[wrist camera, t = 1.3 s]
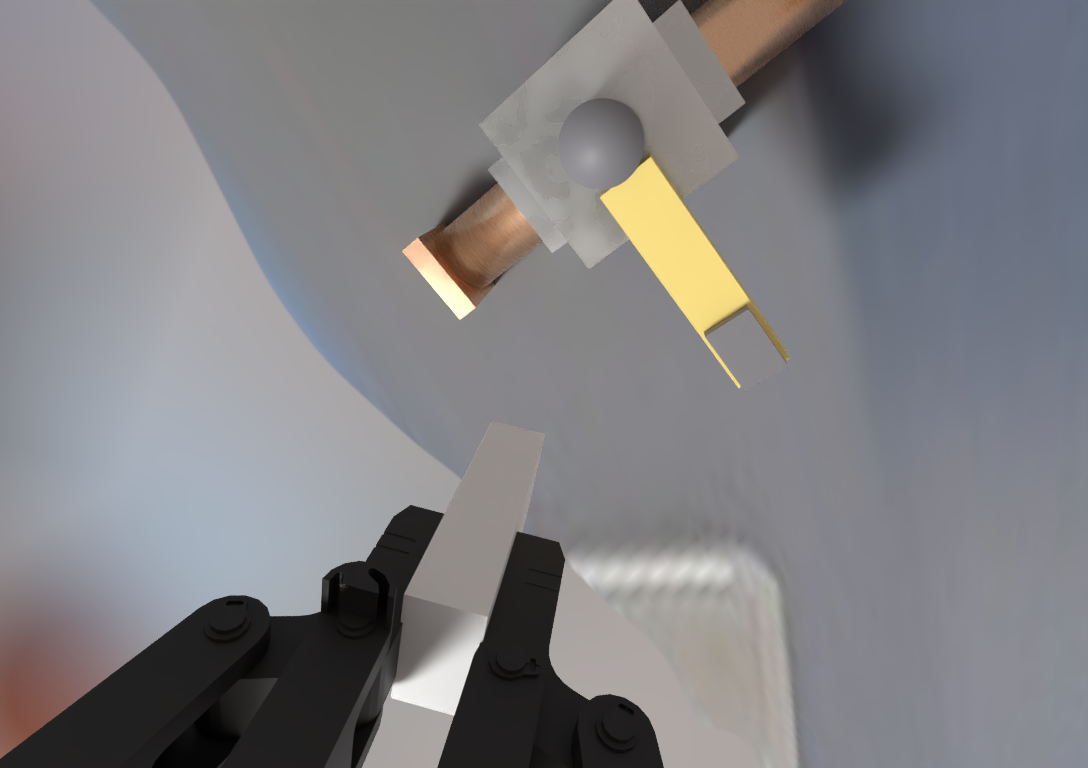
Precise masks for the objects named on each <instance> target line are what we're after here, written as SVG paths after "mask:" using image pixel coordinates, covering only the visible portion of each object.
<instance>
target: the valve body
mask: <svg viewBox="0 0 1088 768" xmlns="http://www.w3.org/2000/svg"><path fill="white" fill-rule="evenodd" d="M845 1H846V0H707V1H706V2H705V3H704V4H703V5H702V6H701V7H699V8H698V9H697V10H696V11H695V12H694V13H692V14H691V15H690V14H689V12H688V11H687V9H686V8H685V6H684V5H683V3H682V1H681V0H678V1H677V2H676V3H675V4H674V5H672V6H671V7H670V8H669V9H668V10H667V11H666V12H665V13H663V14H662V15H661V16H660V17H659V18H658V19H657V20H656V21H654V22H653V23H652V22H651V20H650V18H649V17H648V15H647V14H646V12H645V11H644V9H643V8H642V6H641V5H640V3H639V2H638V0H613V1H612V2H610V3H609V4H608V5H607V6H606V7H605V8H604V9H603V10H602V11H601V12H600V13H599V14H598V15H596V16H595V17H594V18H593V19H592V20H591V21H590V22H589V23H588V24H587V25H586V26H585V27H584V28H583V29H581V30H580V31H579V32H578V33H577V34H576V35H575V36H574V37H573V38H572V39H571V40H570V41H569V42H567V43H566V44H565V45H564V46H563V47H562V48H561V49H560V50H559V51H558V52H557V53H556V54H555V55H553V56H552V57H551V58H550V59H549V60H548V61H547V62H546V63H545V64H544V65H543V66H542V67H541V68H540V69H538V70H537V71H536V72H535V73H534V74H533V75H532V76H531V77H530V78H529V79H528V80H527V81H526V82H524V83H523V84H522V85H521V86H520V87H519V88H518V89H517V90H516V91H515V92H514V93H513V94H512V95H511V96H509V97H508V98H507V99H506V100H505V101H504V102H503V103H502V104H501V105H500V106H499V107H498V108H497V109H495V110H494V111H493V112H492V113H491V114H490V115H489V116H488V117H487V118H486V119H485V120H484V121H483V122H481V123H480V124H479V126H480V127H481V128H482V130H483V131H484V132H485V134H486V135H487V136H488V137H489V139H490V140H491V141H492V143H493V144H494V145H495V147H496V148H497V149H498V151H499V152H500V153H501V155H502V157H501V158H500V159H499V160H498V161H497V162H495V163H494V164H493V165H492V166H491V167H490V168H489V169H488V171H489V172H490V173H491V174H492V176H493V177H494V178H495V180H496V181H497V182H498V183H497V184H496V185H495V186H493V187H492V188H491V189H490V190H489V191H488V192H486V193H485V194H484V195H483V196H482V197H481V198H480V199H478V200H477V201H476V202H475V203H474V204H473V205H472V206H470V207H469V208H468V209H467V210H466V211H465V212H463V213H462V214H461V215H460V216H459V217H458V218H457V219H455V220H454V221H453V222H452V223H451V224H450V225H449V226H447V225H446V224H445V223H443V224H441V225H439V226H438V227H436V228H434V229H432V230H430V231H429V232H427V233H425V234H423V235H422V236H420V237H418V238H417V239H416V240H414V241H413V242H412V243H411V244H410V245H409V246H408V247H407V248H405V249H404V250H403V251H402V252H403V253H404V254H405V255H406V256H407V257H408V259H409V260H410V261H411V262H412V263H413V265H414V266H415V267H416V268H417V269H418V270H419V272H420V273H421V274H422V275H423V276H424V278H425V279H426V280H427V281H428V282H429V284H430V285H431V286H432V287H433V288H434V289H435V291H436V292H437V293H438V294H439V295H440V297H441V298H442V299H443V300H444V301H445V302H446V304H447V305H448V306H449V307H450V308H451V310H452V311H453V312H454V313H455V314H456V316H457V317H458V318H459V319H461V318H463V317H464V316H465V315H467V314H468V313H469V312H470V311H472V310H473V309H474V308H476V306H477V305H478V304H479V303H480V302H481V301H482V299H483V298H484V297H485V296H486V295H487V294H488V292H489V291H490V290H491V289H492V288H493V287H494V286H495V284H494V283H493V282H492V281H493V280H494V279H496V278H497V277H498V276H499V275H501V274H502V273H503V272H504V271H506V270H507V269H508V268H510V267H511V266H512V265H513V264H515V263H516V262H517V261H518V260H520V259H521V258H522V257H523V256H525V255H526V254H527V253H528V252H530V251H531V250H532V249H534V248H535V247H536V246H537V245H539V244H540V243H541V242H542V241H543V242H544V243H545V244H546V246H547V247H548V248H549V250H550V251H551V252H552V253H553V252H555V251H556V250H557V249H558V248H560V247H561V246H562V245H564V244H565V243H566V242H567V241H568V243H569V244H570V245H571V247H572V248H573V249H574V251H575V252H576V253H577V255H578V256H579V257H580V258H581V260H582V261H583V262H584V264H585V265H586V266H587V268H588V269H590V268H591V267H592V266H594V265H595V264H596V263H598V262H599V261H600V260H602V259H603V258H604V257H606V256H607V255H609V254H610V253H611V252H613V251H614V250H615V249H617V248H618V247H619V246H621V245H622V244H623V243H625V242H626V241H627V240H629V237H628V236H627V235H626V233H625V232H624V230H623V229H622V228H621V226H620V225H619V224H618V222H617V221H616V219H615V218H614V217H613V215H612V214H611V213H610V211H609V210H608V208H607V207H606V206H605V204H604V203H603V202H602V200H601V199H600V198H599V197H600V196H601V194H602V192H603V190H594V189H589V188H587V187H584V186H582V185H580V184H578V183H577V182H575V181H574V180H573V179H572V178H571V177H570V176H569V175H568V173H567V172H566V170H565V169H564V167H563V165H562V163H561V160H560V156H559V149H558V142H559V135H560V131H561V128H562V126H563V123H564V122H565V120H566V118H567V117H568V115H569V114H570V113H571V112H572V111H573V110H574V109H575V108H576V107H578V106H579V105H580V104H582V103H584V102H586V101H589V100H592V99H597V98H608V99H613V100H616V101H619V102H622V103H624V104H626V105H627V106H629V107H630V108H631V109H632V110H633V111H634V112H635V113H636V114H637V116H638V117H639V119H640V121H641V123H642V126H643V130H644V149H643V154H642V158H641V160H642V159H643V158H644V157H646V156H647V155H648V154H649V153H651V155H652V156H653V158H654V159H655V160H656V162H657V163H658V165H659V166H660V168H661V169H662V171H663V172H664V174H665V175H666V176H667V178H668V179H669V181H670V182H671V184H672V185H673V187H674V188H675V189H676V191H677V192H678V194H679V195H680V197H681V198H682V199H684V198H685V197H687V196H688V195H689V194H691V193H692V192H693V191H695V190H696V189H697V188H699V187H700V186H701V185H703V184H704V183H705V182H707V181H708V180H709V179H711V178H712V177H713V176H715V175H716V174H717V173H719V172H720V171H721V170H723V169H724V168H726V167H727V166H728V165H730V164H731V163H732V162H734V161H735V160H736V159H738V158H739V155H738V154H737V152H736V151H735V149H734V147H733V146H732V144H731V143H730V141H729V140H728V138H727V137H726V135H725V134H724V132H723V131H722V129H721V127H720V126H719V123H721V122H722V121H723V120H724V119H726V118H727V117H728V116H730V115H731V114H732V113H733V112H735V111H736V110H737V109H739V108H740V107H741V106H742V105H744V104H745V101H744V99H743V98H742V96H741V95H740V93H739V91H738V90H737V87H738V86H739V85H740V84H742V83H743V82H744V81H746V80H747V79H748V78H749V77H751V76H752V75H753V74H754V73H756V72H757V71H758V70H759V69H761V68H762V67H763V66H764V65H766V64H767V63H768V62H769V61H771V60H772V59H773V58H775V57H776V56H777V55H778V54H780V53H781V52H782V51H783V50H785V49H786V48H787V47H788V46H790V45H791V44H792V43H793V42H795V41H796V40H797V39H799V38H800V37H801V36H802V35H804V34H805V33H806V32H807V31H809V30H810V29H811V28H812V27H814V26H815V25H816V24H817V23H819V22H820V21H821V20H822V19H824V18H825V17H826V16H828V15H829V14H830V13H831V12H833V11H834V10H835V9H836V8H838V7H839V6H840V5H841V4H843V3H844V2H845Z"/></svg>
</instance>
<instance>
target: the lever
mask: <svg viewBox="0 0 1088 768" xmlns="http://www.w3.org/2000/svg"><path fill="white" fill-rule="evenodd" d="M558 149H559V156H560V160H561V163H562V165H563V167H564V169H565V170H566V172H567V173H568V175H569V176H570V177H571V178H572V179H573V180H574V181H575V182H577V183H578V184H580V185H582V186H584V187H587V188H589V189H594V190H603V192H602V194H601V196H600V197H599V198H600V199H601V200H602V202H603V203H604V204H605V206H606V207H607V208H608V210H609V211H610V213H611V214H612V215H613V217H614V218H615V219H616V221H617V222H618V224H619V225H620V226H621V228H622V229H623V230H624V232H625V233H626V235H627V236H628V237H629V239H630V240H631V241H632V243H633V244H634V245H635V247H636V248H637V250H638V251H639V252H640V254H641V255H642V256H643V258H644V259H645V261H646V262H647V263H648V265H649V266H650V267H651V269H652V270H653V272H654V273H655V274H656V276H657V277H658V278H659V280H660V281H661V282H662V284H663V285H664V287H665V288H666V289H667V291H668V292H669V293H670V295H671V296H672V298H673V299H674V300H675V302H676V303H677V304H678V306H679V307H680V309H681V310H682V311H683V313H684V314H685V315H686V317H687V318H688V319H689V321H690V322H691V324H692V325H693V326H694V328H695V329H696V330H697V332H698V333H699V335H700V336H701V337H702V339H703V340H704V341H705V343H706V344H707V346H708V347H709V348H710V350H711V351H712V352H713V354H714V355H715V357H716V358H717V359H718V361H719V362H720V363H721V365H722V366H723V367H724V369H725V370H726V372H727V373H728V374H729V376H730V377H731V378H732V380H733V381H734V383H735V384H736V385H737V387H738V388H740V387H742V388H743V390H744V391H747V390H748V389H750V388H752V387H754V386H755V385H757V384H759V383H760V382H762V381H764V380H766V379H767V378H769V377H771V376H772V375H774V374H776V373H778V372H779V371H781V370H783V369H785V368H786V367H788V365H787V363H786V360H788V359H789V356H788V354H787V352H786V351H785V349H784V347H783V345H782V344H781V342H780V340H779V339H778V337H777V336H776V334H775V333H774V331H773V330H772V328H771V327H770V325H769V324H768V322H767V321H766V320H765V318H764V317H763V315H762V314H761V312H760V311H759V309H758V308H757V307H756V305H755V304H754V302H753V301H752V299H751V298H750V296H749V295H748V294H747V292H746V291H745V289H744V288H743V286H742V285H741V283H740V282H739V281H738V279H737V278H736V276H735V275H734V273H733V272H732V270H731V269H730V268H729V266H728V265H727V263H726V262H725V260H724V259H723V257H722V256H721V255H720V253H719V252H718V250H717V249H716V247H715V246H714V244H713V243H712V241H711V240H710V239H709V237H708V236H707V234H706V233H705V231H704V230H703V228H702V227H701V226H700V224H699V223H698V221H697V220H696V218H695V217H694V215H693V214H692V213H691V211H690V210H689V208H688V207H687V205H686V204H685V202H684V201H683V200H682V198H681V197H680V195H679V194H678V192H677V191H676V189H675V188H674V187H673V185H672V184H671V182H670V181H669V179H668V178H667V176H666V175H665V174H664V172H663V171H662V169H661V168H660V166H659V165H658V163H657V162H656V160H655V159H654V158H653V156H652V155H651V153H649V154H648V155H647V156H646V157H644V158H643V159H642V160H641V158H642V154H643V149H644V130H643V126H642V123H641V121H640V119H639V117H638V116H637V114H636V113H635V112H634V111H633V110H632V109H631V108H630V107H629V106H627V105H626V104H624V103H622V102H619V101H616V100H613V99H608V98H597V99H592V100H589V101H586V102H584V103H582V104H580V105H579V106H578V107H576V108H575V109H574V110H573V111H572V112H571V113H570V114H569V115H568V117H567V118H566V120H565V122H564V123H563V126H562V128H561V131H560V135H559V142H558Z"/></svg>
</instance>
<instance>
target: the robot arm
mask: <svg viewBox="0 0 1088 768" xmlns="http://www.w3.org/2000/svg"><path fill="white" fill-rule="evenodd" d="M544 439H545V434H543V433H539V432H535V431H531V430H527V429H523V428H519V427H515V426H511V425H507V424H503V423H499V422H495V421H491V422H490V424H489V426H488V428H487V430H486V432H485V434H484V436H483V438H482V440H481V442H480V444H479V446H478V448H477V450H476V452H475V454H474V456H473V458H472V460H471V462H470V464H469V466H468V468H467V470H466V472H465V474H464V476H463V478H462V480H461V482H460V484H459V486H458V488H457V490H456V492H455V494H454V496H453V498H452V500H451V502H450V504H449V506H448V508H447V510H446V512H445V514H443V513H439V512H435V511H431V510H427V509H424V508H420V507H416V506H412V505H410V506H409V507H407V508H406V509H404V510H403V511H401V512H400V513H399V514H397V515H395V516H394V517H393V519H392V520H391V522H390V523H389V525H388V527H387V528H386V530H385V532H384V534H383V535H382V536H381V538H380V539H379V541H378V543H377V544H376V547H375V548H374V549H373V551H372V552H371V554H370V555H369V557H368V558H367V560H366V562H363V561H357V562H350V563H345V564H342V565H340V566H338V567H336V568H334V569H332V570H331V571H330V572H329V573H328V574H327V575H326V576H325V577H324V578H323V580H322V600H321V612H318V613H315V614H311V615H305V616H270V615H269V612H268V608H267V607H266V606H265V605H264V604H263V603H262V602H261V601H259V600H258V599H255V598H252V597H249V596H226V597H223V598H219V599H215V600H213V601H211V602H209V603H207V604H206V605H204V606H202V607H200V608H199V609H197V610H196V611H195V612H193V613H192V614H191V615H190V616H188V617H187V618H185V619H184V620H183V621H181V622H180V623H179V624H178V625H176V626H175V627H174V628H172V629H171V630H170V631H169V632H167V633H166V634H164V635H163V636H162V637H161V638H159V639H158V640H157V641H155V642H154V643H153V644H151V645H150V646H149V647H147V648H146V649H145V650H143V651H142V652H141V653H140V654H138V655H137V656H135V657H134V658H133V659H132V660H130V661H129V662H127V663H126V664H125V665H124V666H122V667H121V668H120V669H118V670H117V671H116V672H114V673H113V674H112V675H110V676H109V677H108V678H106V679H105V680H104V681H102V682H101V683H100V684H98V685H97V686H96V687H94V688H93V689H92V690H91V691H89V692H88V693H87V694H85V695H84V696H83V697H81V698H80V699H79V700H77V701H76V702H75V703H73V704H72V705H71V706H69V707H68V708H67V709H66V710H64V711H63V712H62V713H60V714H59V715H58V716H56V717H55V718H54V719H52V720H51V721H50V722H48V723H47V724H46V725H44V726H43V727H42V728H40V729H39V730H38V731H36V732H35V733H34V734H32V735H31V736H30V737H28V738H27V739H26V740H25V741H24V742H22V743H21V744H19V745H18V746H17V747H15V748H14V749H13V750H12V751H10V752H9V753H7V754H6V755H5V756H3V757H2V758H1V759H0V768H362V766H363V763H364V761H365V759H366V756H367V754H368V752H369V749H370V747H371V745H372V742H373V740H374V738H375V735H376V733H377V731H378V729H379V726H380V722H381V717H382V712H383V704H384V702H385V700H386V697H387V695H388V693H389V691H390V688H391V686H392V684H393V686H392V694H391V698H394V699H397V700H401V701H404V702H408V703H411V704H415V705H418V706H422V707H426V708H429V709H432V710H436V711H440V712H443V713H447V714H451V715H454V718H453V721H452V724H451V727H450V730H449V733H448V736H447V740H446V743H445V746H444V749H443V752H442V755H441V758H440V761H439V765H438V768H664V767H663V763H662V759H661V755H660V751H659V747H658V743H657V739H656V735H655V731H654V729H653V727H652V725H651V722H650V720H649V718H648V717H647V716H646V715H645V713H644V712H643V711H642V710H641V709H640V708H639V707H638V706H637V705H635V704H634V703H632V702H631V701H629V700H627V699H626V698H623V697H619V696H615V695H611V694H608V695H600V696H596V697H594V698H592V699H591V700H588V699H586V698H585V697H583V696H581V695H580V694H578V693H577V692H575V691H573V690H572V689H571V688H569V687H568V686H567V685H566V684H564V683H563V682H562V680H561V679H560V678H559V677H558V676H557V675H556V673H555V671H554V669H553V667H552V665H551V662H550V658H549V644H550V639H551V633H552V628H553V622H554V617H555V612H556V606H557V601H558V594H559V590H560V584H561V578H562V573H563V568H564V562H565V558H564V555H563V552H562V550H561V547H560V544H559V542H556V541H552V540H548V539H544V538H541V537H537V536H533V535H529V534H525V533H522V531H523V527H524V524H525V520H526V517H527V514H528V509H529V505H530V500H531V496H532V492H533V487H534V483H535V478H536V474H537V470H538V465H539V461H540V456H541V452H542V448H543V443H544Z"/></svg>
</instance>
